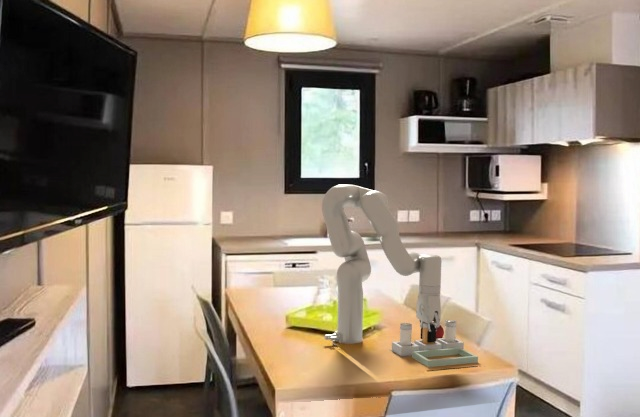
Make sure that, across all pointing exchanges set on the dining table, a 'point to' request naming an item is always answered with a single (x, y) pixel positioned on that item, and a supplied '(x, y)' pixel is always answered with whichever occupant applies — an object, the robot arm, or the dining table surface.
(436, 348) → the fuse holder
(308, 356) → the dining table surface
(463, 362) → the tray
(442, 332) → the onion
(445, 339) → the cylinder
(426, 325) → the marked fuse
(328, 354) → the dining table surface
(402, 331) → the cylinder
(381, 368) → the dining table surface
